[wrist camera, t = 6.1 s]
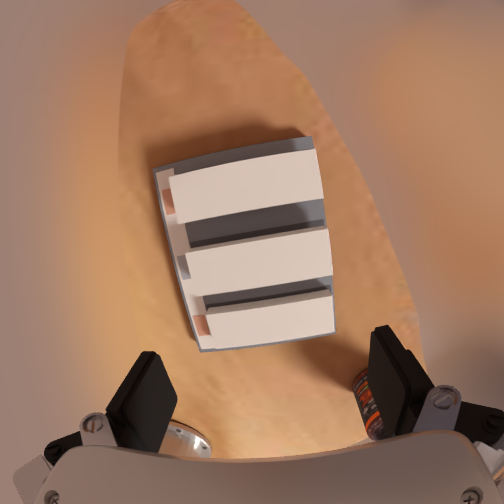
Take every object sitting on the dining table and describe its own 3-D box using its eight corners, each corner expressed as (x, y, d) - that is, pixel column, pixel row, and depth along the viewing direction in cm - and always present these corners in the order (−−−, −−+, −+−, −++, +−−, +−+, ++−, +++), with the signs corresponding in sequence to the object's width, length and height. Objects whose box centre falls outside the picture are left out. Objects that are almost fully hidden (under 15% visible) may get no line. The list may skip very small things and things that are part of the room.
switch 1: (320, 196, 23) (323, 198, 21) (183, 221, 24) (178, 224, 22) (312, 151, 22) (315, 148, 20) (174, 177, 23) (168, 177, 21)
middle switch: (329, 268, 24) (333, 274, 23) (200, 289, 25) (196, 296, 24) (324, 225, 23) (328, 228, 22) (189, 248, 24) (184, 253, 23)
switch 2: (331, 323, 27) (334, 331, 25) (218, 340, 28) (215, 349, 26) (328, 289, 26) (332, 295, 24) (208, 307, 27) (205, 315, 25)
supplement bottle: (375, 356, 30) (408, 419, 19) (399, 372, 31) (432, 429, 20) (342, 387, 31) (362, 453, 20) (369, 400, 32) (391, 460, 21)
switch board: (333, 326, 29) (336, 334, 27) (202, 345, 30) (199, 353, 29) (308, 138, 24) (312, 135, 22) (158, 169, 25) (151, 168, 24)
